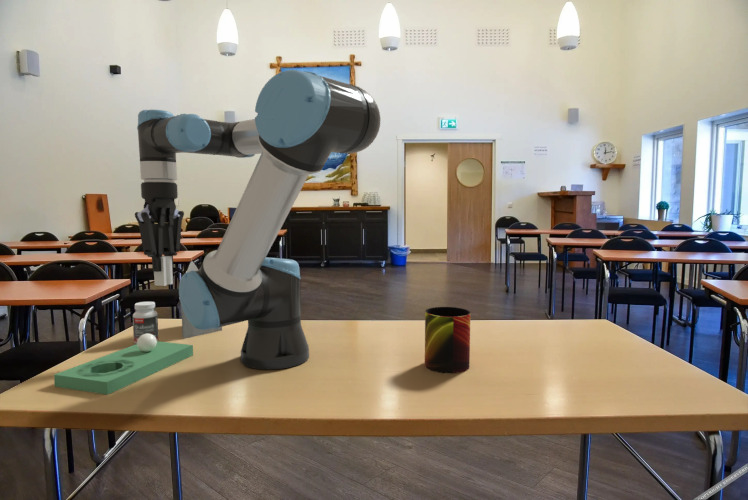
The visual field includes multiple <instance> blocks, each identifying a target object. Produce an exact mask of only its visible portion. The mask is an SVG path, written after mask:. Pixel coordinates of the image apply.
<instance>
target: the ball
mask: <svg viewBox="0 0 748 500" xmlns="http://www.w3.org/2000/svg"><path fill="white" fill-rule="evenodd" d="M157 341H158V340H156V337H155V336H154V335H152V334H148V333H147V334H143V335H141V336H140V337H139V338H138V340H137V346H138V348H139V349H140V350H141V351H143V352H149V351H151V350H153V349H154V348H155V347H156V344H157Z"/></svg>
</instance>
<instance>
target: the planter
mask: <svg viewBox="0 0 748 500" xmlns="http://www.w3.org/2000/svg"><path fill="white" fill-rule="evenodd" d="M198 270H199V269H198V267H197V266H196V264H195V262H194V261H192V260H191V261H190V262H189V265H188V267H187V270H186V272H185V273H187V272H190V271H198ZM180 306H181V305H180ZM180 308H181V330H182V331H181V332H182V339H188V338H189V339H190V338H193V337H198V336H203V335H209V334H213V333H216V332H220V331H222V330H223V327H219V328H217V329H214V328H213V329H207V330H201V329H197V328H195V327H194V326H193V325H192V324H191V323H190V322H189V321H188V319H187V318H186V316H185V314H184V312H183V309H182V306H181V307H180Z"/></svg>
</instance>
